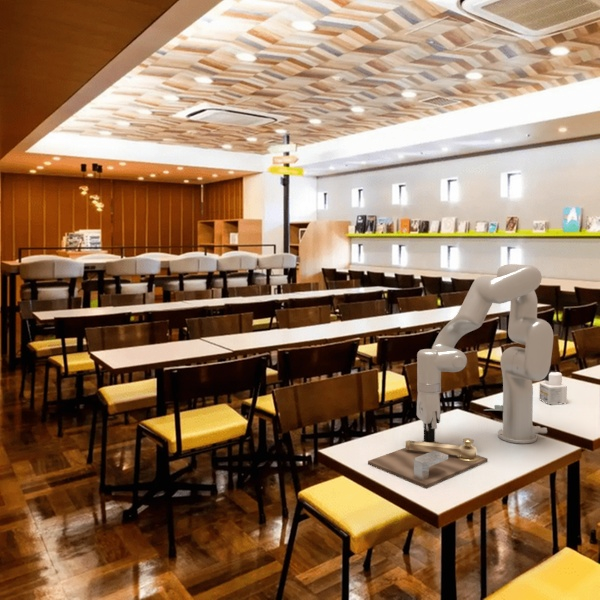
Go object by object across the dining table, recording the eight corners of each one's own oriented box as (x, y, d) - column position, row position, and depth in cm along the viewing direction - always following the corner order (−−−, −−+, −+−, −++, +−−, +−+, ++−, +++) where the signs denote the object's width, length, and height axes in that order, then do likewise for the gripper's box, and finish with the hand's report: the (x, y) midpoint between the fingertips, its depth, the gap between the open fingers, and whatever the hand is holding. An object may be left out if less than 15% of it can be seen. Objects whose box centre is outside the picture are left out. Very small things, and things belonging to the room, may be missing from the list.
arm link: (477, 453, 174) (477, 445, 174) (475, 459, 170) (475, 451, 169) (407, 445, 183) (407, 438, 182) (404, 450, 178) (403, 443, 178)
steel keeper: (424, 481, 157) (424, 463, 156) (411, 475, 161) (411, 458, 160) (448, 471, 163) (448, 454, 162) (434, 466, 167) (434, 449, 166)
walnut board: (428, 441, 190) (428, 439, 190) (487, 461, 172) (487, 458, 172) (368, 464, 173) (367, 460, 173) (426, 488, 154) (426, 485, 154)
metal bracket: (533, 404, 211) (493, 405, 212) (534, 420, 210) (495, 420, 210) (519, 404, 226) (482, 405, 226) (520, 419, 224) (483, 419, 225)
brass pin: (475, 453, 176) (475, 436, 175) (481, 461, 170) (481, 443, 169) (455, 454, 176) (455, 436, 176) (460, 461, 170) (460, 443, 169)
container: (539, 400, 236) (539, 370, 234) (556, 399, 237) (556, 369, 235) (549, 405, 228) (549, 374, 227) (566, 404, 229) (567, 373, 228)
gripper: (410, 382, 188) (410, 434, 190) (426, 393, 174) (426, 450, 176) (431, 381, 189) (431, 433, 191) (449, 392, 175) (449, 448, 176)
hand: (429, 441), depth 183 cm, fingers closed
